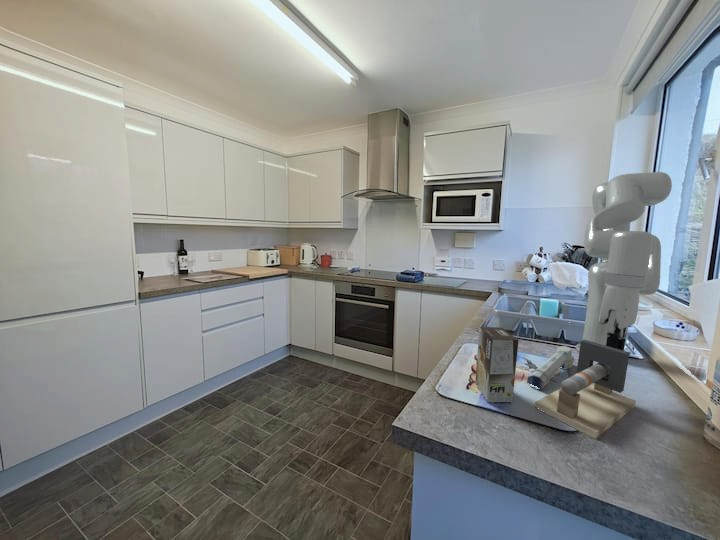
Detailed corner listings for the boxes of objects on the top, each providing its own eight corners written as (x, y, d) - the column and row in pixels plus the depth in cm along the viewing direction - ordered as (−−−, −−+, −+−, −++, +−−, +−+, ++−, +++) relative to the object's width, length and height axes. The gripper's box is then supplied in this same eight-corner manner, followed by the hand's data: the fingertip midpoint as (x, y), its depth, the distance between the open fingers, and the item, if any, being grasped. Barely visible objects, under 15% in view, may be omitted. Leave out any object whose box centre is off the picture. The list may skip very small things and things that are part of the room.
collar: (579, 374, 77) (584, 339, 76) (623, 390, 69) (629, 352, 68) (576, 376, 76) (580, 341, 75) (620, 393, 68) (626, 354, 67)
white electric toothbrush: (524, 371, 79) (558, 339, 94) (523, 393, 81) (557, 358, 96) (546, 379, 75) (578, 344, 90) (544, 402, 77) (576, 364, 92)
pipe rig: (577, 383, 81) (582, 350, 80) (635, 406, 71) (641, 369, 70) (534, 407, 70) (539, 369, 68) (595, 439, 59) (602, 394, 58)
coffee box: (513, 403, 71) (520, 340, 69) (486, 402, 71) (492, 339, 69) (497, 384, 80) (502, 327, 78) (473, 383, 80) (478, 326, 78)
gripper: (617, 277, 80) (607, 342, 82) (593, 280, 72) (583, 352, 74) (655, 282, 74) (643, 352, 76) (633, 286, 66) (621, 364, 68)
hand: (614, 352), depth 75 cm, fingers closed
